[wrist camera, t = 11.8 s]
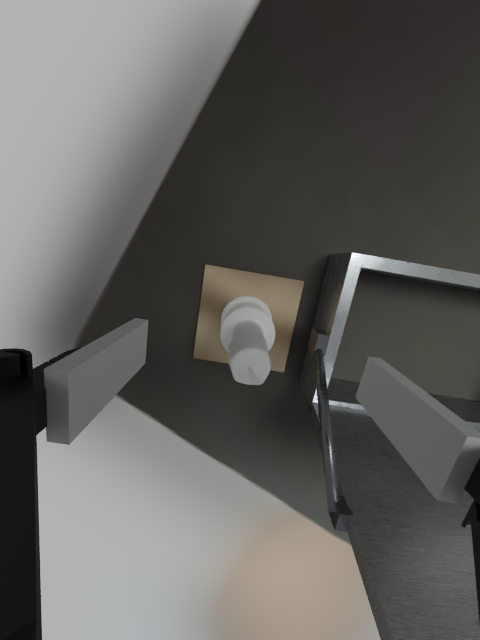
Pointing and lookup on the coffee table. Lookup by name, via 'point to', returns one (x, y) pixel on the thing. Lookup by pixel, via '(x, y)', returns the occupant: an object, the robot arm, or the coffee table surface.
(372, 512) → the case
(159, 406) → the coffee table surface
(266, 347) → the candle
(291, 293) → the mat
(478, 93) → the coffee table surface
